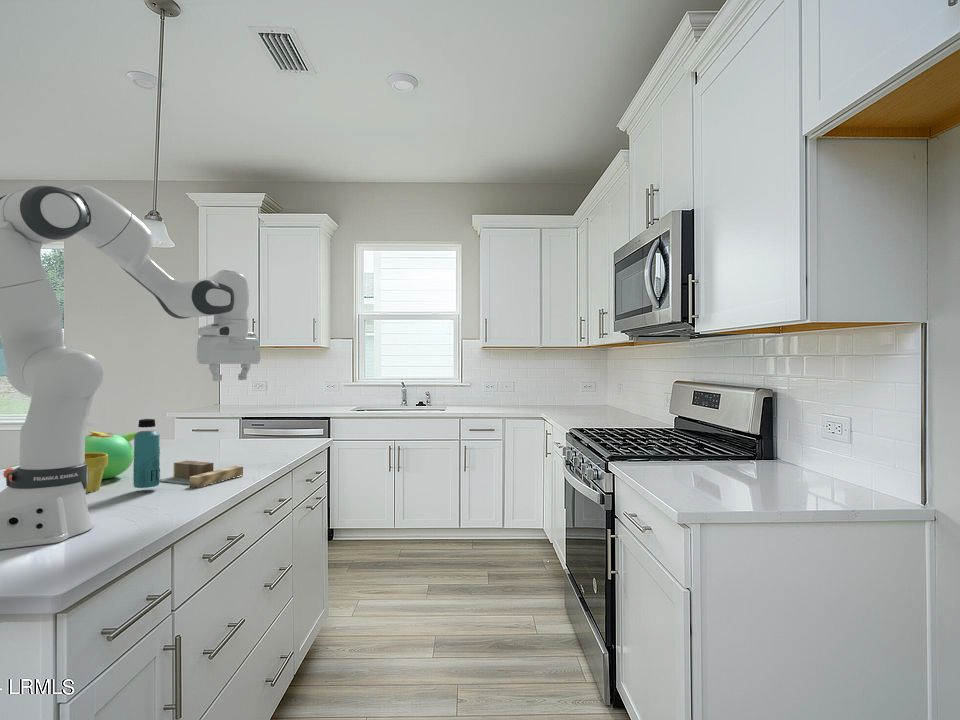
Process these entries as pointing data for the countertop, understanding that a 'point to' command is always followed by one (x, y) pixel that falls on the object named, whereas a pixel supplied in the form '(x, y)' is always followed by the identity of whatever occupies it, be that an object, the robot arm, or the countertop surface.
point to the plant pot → (95, 469)
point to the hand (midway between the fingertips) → (230, 380)
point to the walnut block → (191, 468)
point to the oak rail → (215, 476)
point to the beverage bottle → (146, 456)
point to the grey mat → (176, 480)
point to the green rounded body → (112, 451)
